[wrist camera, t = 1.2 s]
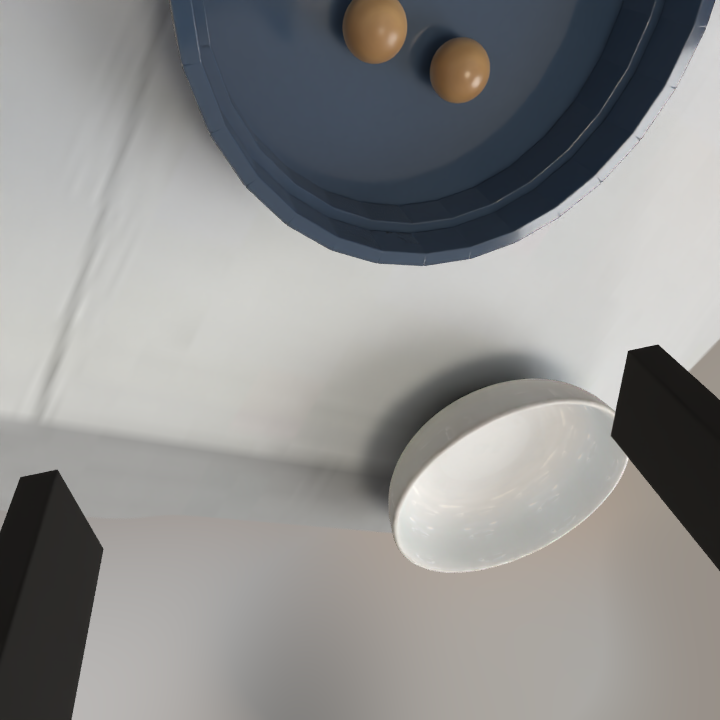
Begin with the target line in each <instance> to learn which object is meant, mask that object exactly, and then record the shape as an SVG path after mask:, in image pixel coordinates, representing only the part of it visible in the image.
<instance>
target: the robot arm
mask: <svg viewBox="0 0 720 720" xmlns="http://www.w3.org/2000/svg"><path fill="white" fill-rule="evenodd" d="M611 437H612V438H613V439H614V441H615V442H616V443H617V444H618V446H619V447H620V448H621V449H622V451H623V452H624V453H625V454H626V455H627V457H628V458H629V459H630V460H631V462H632V463H633V464H634V465H635V466H636V468H637V469H638V470H639V471H640V473H641V474H642V475H643V476H644V478H645V479H646V480H647V481H648V482H649V484H650V485H651V486H652V488H653V489H654V490H655V491H656V493H657V494H658V495H659V496H660V498H661V499H662V500H663V501H664V502H665V504H666V505H667V506H668V507H669V509H670V510H671V511H672V512H673V514H674V515H675V516H676V517H677V519H678V520H679V521H680V522H681V523H682V525H683V526H684V527H685V528H686V530H687V531H688V532H689V533H690V535H691V536H692V537H693V538H694V540H695V541H696V542H697V543H698V545H699V546H700V547H701V548H702V549H703V551H704V552H705V553H706V554H707V555H708V557H709V558H710V559H711V560H712V562H713V563H714V564H715V566H716V567H717V568H718V569H719V571H720V400H719V399H718V398H717V397H716V396H715V395H714V394H713V393H711V392H710V391H709V390H708V389H707V388H706V387H705V386H704V385H702V384H701V383H700V382H699V381H698V380H697V379H696V378H695V377H693V376H692V375H691V374H690V373H689V372H688V371H687V370H686V369H685V368H684V367H682V366H681V365H680V364H679V363H678V362H677V361H676V360H675V359H674V358H672V357H671V356H670V355H669V354H668V353H667V352H666V351H665V350H664V349H662V348H661V347H660V346H659V345H654V346H649V347H644V348H640V349H635V350H630V351H628V354H627V359H626V364H625V369H624V373H623V378H622V383H621V388H620V393H619V397H618V402H617V407H616V412H615V417H614V421H613V426H612V431H611ZM102 554H103V547H102V546H101V544H100V542H99V540H98V539H97V537H96V535H95V534H94V532H93V530H92V528H91V527H90V525H89V523H88V522H87V520H86V518H85V516H84V515H83V513H82V511H81V509H80V508H79V506H78V504H77V502H76V501H75V499H74V497H73V496H72V494H71V492H70V490H69V489H68V487H67V485H66V483H65V482H64V480H63V478H62V477H61V475H60V473H59V471H58V470H53V471H48V472H44V473H39V474H34V475H29V476H24V477H20V480H19V483H18V485H17V488H16V491H15V493H14V496H13V499H12V501H11V504H10V507H9V510H8V513H7V516H6V518H5V520H4V523H3V526H2V529H1V531H0V720H71V718H72V713H73V708H74V703H75V697H76V692H77V687H78V681H79V676H80V671H81V665H82V660H83V655H84V649H85V644H86V639H87V633H88V628H89V622H90V617H91V612H92V607H93V602H94V596H95V591H96V586H97V580H98V575H99V569H100V564H101V559H102Z"/></svg>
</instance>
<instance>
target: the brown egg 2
mask: <svg viewBox="0 0 720 720" xmlns="http://www.w3.org/2000/svg"><path fill="white" fill-rule="evenodd" d="M489 74H490V61H489V58H488V55H487V53H486V51H485V49H484V48H483V47H482V45H481V44H479V43H478V42H477V41H475V40H473V39H471V38H467V37H457V38H453V39H451V40H449V41H447V42H445V43H444V44H443V45H441V46H440V47H439V49H438V50H437V51H436V53H435V54H434V56H433V58H432V61H431V65H430V81H431V84H432V86H433V89H434V90H435V92H436V93H437V94H438V95H439V96H440V97H441V98H442V99H444V100H445V101H448V102H451V103H465V102H468V101H470V100H472V99H474V98H475V97H477V96H478V95H479V94H480V93H481V92H482V90H483V89H484V87H485V86H486V84H487V81H488V78H489Z"/></svg>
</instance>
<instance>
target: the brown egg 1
mask: <svg viewBox="0 0 720 720" xmlns="http://www.w3.org/2000/svg"><path fill="white" fill-rule="evenodd" d="M342 29H343V36H344V40H345V43H346V45H347V47H348V49H349V50H350V52H351V53H352V54H353V55H354V56H355V57H356V58H358V59H359V60H361V61H363V62H365V63H369V64H380V63H383V62H386V61H388V60H390V59H391V58H393V57H394V56H395V55H396V54H397V53H398V52H399V51H400V49H401V48H402V46H403V44H404V41H405V38H406V34H407V19H406V14H405V11H404V9H403V7H402V5H401V4H400V2H399V1H398V0H352V1H351V3H350V4H349V6H348V7H347V9H346V12H345V14H344V18H343V25H342Z"/></svg>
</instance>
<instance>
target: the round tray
mask: <svg viewBox="0 0 720 720" xmlns="http://www.w3.org/2000/svg"><path fill="white" fill-rule="evenodd" d="M351 1H352V0H169V6H170V11H171V17H172V22H173V28H174V33H175V38H176V43H177V47H178V52H179V56H180V60H181V64H182V68H183V70H184V73H185V75H186V78H187V80H188V83H189V85H190V88H191V90H192V93H193V95H194V98H195V100H196V103H197V105H198V108H199V110H200V113H201V115H202V117H203V120H204V122H205V125H206V127H207V130H208V132H209V133H210V136H211V137H212V139H213V140H214V142H215V143H216V145H217V146H218V148H219V149H220V151H221V152H222V153H223V155H224V156H225V158H226V159H227V161H228V162H229V164H230V165H231V167H232V168H233V170H234V171H235V173H236V174H237V176H238V177H239V178H240V180H241V181H242V183H243V184H244V185H245V186H246V188H247V189H248V190H249V191H250V192H251V193H253V194H254V195H255V196H256V197H257V198H258V199H259V200H260V201H261V202H262V203H263V204H264V205H265V206H267V207H268V208H269V209H270V210H271V211H272V212H273V213H274V214H275V215H276V216H277V217H278V218H279V219H281V220H282V221H283V222H284V223H285V224H287V226H289V227H291V228H293V229H294V230H296V231H298V232H300V233H301V234H303V235H305V236H307V237H308V238H310V239H312V240H314V241H316V242H317V243H319V244H321V245H323V246H324V247H326V248H328V249H330V250H332V251H335V252H339V253H342V254H346V255H349V256H353V257H356V258H360V259H363V260H367V261H370V262H374V263H379V264H397V265H415V266H423V265H424V266H428V265H434V264H440V263H447V262H453V261H459V260H466V259H472V258H474V257H477V256H480V255H483V254H485V253H488V252H491V251H494V250H496V249H499V248H502V247H505V246H507V245H510V244H513V243H515V242H517V241H519V240H521V239H523V238H524V237H526V236H528V235H530V234H531V233H533V232H535V231H536V230H538V229H540V228H542V227H543V226H545V225H547V224H549V223H550V222H552V221H554V220H556V219H557V218H559V216H561V215H563V214H564V213H565V212H566V211H567V210H569V209H570V208H571V207H572V206H574V205H575V204H576V203H577V202H579V201H580V200H581V199H582V198H583V197H585V196H586V195H587V194H588V193H590V192H591V191H592V190H593V189H595V188H596V187H597V186H598V185H599V184H600V183H601V182H603V181H604V180H605V178H606V177H607V176H608V175H609V174H610V173H611V172H612V171H613V170H614V169H615V167H616V166H617V165H618V164H619V163H620V162H621V161H622V160H623V159H624V158H625V157H626V155H627V154H628V153H629V152H630V151H631V150H632V149H633V148H634V147H635V146H636V144H637V143H638V142H639V141H640V139H642V137H643V136H644V134H645V133H646V131H647V130H648V128H649V127H650V126H651V124H652V123H653V121H654V120H655V118H656V117H657V115H658V114H659V112H660V111H661V109H662V108H663V106H664V105H665V104H666V102H667V101H668V99H669V98H670V96H671V95H672V93H673V92H674V90H675V88H676V87H677V86H678V84H679V82H680V80H681V78H682V76H683V74H684V72H685V70H686V68H687V66H688V64H689V62H690V60H691V58H692V55H693V53H694V51H695V49H696V47H697V45H698V43H699V41H700V39H701V37H702V35H703V33H704V31H705V29H706V28H705V27H706V26H707V24H708V21H709V18H710V15H711V12H712V9H713V6H714V3H715V0H398V1H399V2H400V4H401V5H402V7H403V9H404V11H405V14H406V19H407V34H406V38H405V41H404V44H403V46H402V48H401V49H400V51H399V52H398V53H397V54H396V55H395V56H394V57H393V58H391V59H390V60H388V61H386V62H383V63H380V64H369V63H365V62H363V61H361V60H359V59H358V58H356V57H355V56H354V55H353V54H352V53H351V52H350V50H349V49H348V47H347V45H346V43H345V40H344V36H343V29H342V25H343V18H344V14H345V12H346V9H347V7H348V6H349V4H350V3H351ZM457 37H467V38H471V39H473V40H475V41H477V42H478V43H479V44H481V45H482V47H483V48H484V49H485V51H486V53H487V55H488V58H489V61H490V74H489V78H488V81H487V84H486V86H485V87H484V89H483V90H482V92H481V93H480V94H479V95H478V96H477V97H475V98H474V99H472V100H470V101H468V102H465V103H451V102H448V101H445V100H444V99H442V98H441V97H440V96H439V95H438V94H437V93H436V92H435V90H434V89H433V86H432V84H431V81H430V65H431V61H432V58H433V56H434V54H435V53H436V51H437V50H438V49H439V47H440V46H441V45H443V44H444V43H445V42H447V41H449V40H451V39H453V38H457Z"/></svg>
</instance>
